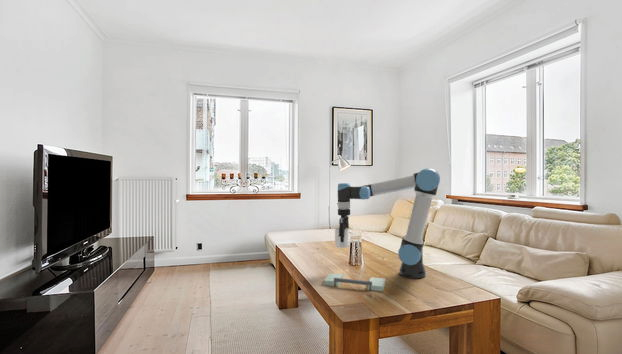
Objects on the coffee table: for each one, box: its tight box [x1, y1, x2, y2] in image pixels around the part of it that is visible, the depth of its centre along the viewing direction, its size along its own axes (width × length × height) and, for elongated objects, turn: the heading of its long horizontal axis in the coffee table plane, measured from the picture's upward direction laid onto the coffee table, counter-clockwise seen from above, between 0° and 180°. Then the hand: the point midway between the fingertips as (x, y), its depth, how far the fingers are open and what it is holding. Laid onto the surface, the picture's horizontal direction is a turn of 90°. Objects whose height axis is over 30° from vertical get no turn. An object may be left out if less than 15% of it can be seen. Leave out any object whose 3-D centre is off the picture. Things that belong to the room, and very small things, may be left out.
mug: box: [334, 227, 355, 249], centre depth 197 cm, size 9×12×11 cm
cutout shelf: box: [323, 272, 386, 292], centre depth 178 cm, size 32×13×4 cm, turn 71°
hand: (344, 245), depth 196 cm, fingers closed on mug, 9 cm apart
